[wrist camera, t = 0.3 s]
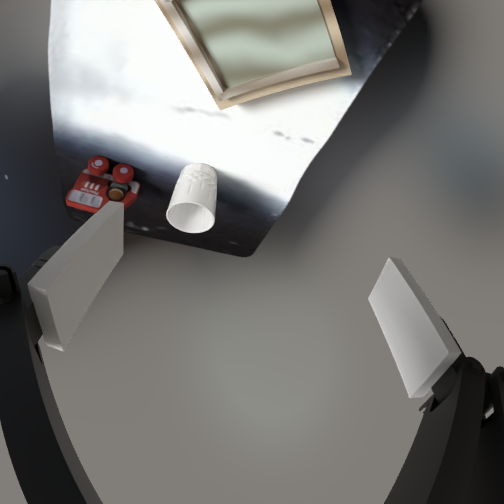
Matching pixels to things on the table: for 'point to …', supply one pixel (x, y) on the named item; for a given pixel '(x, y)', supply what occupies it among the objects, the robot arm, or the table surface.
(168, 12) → the tray
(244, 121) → the table surface
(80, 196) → the toy fire truck
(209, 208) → the white cup
